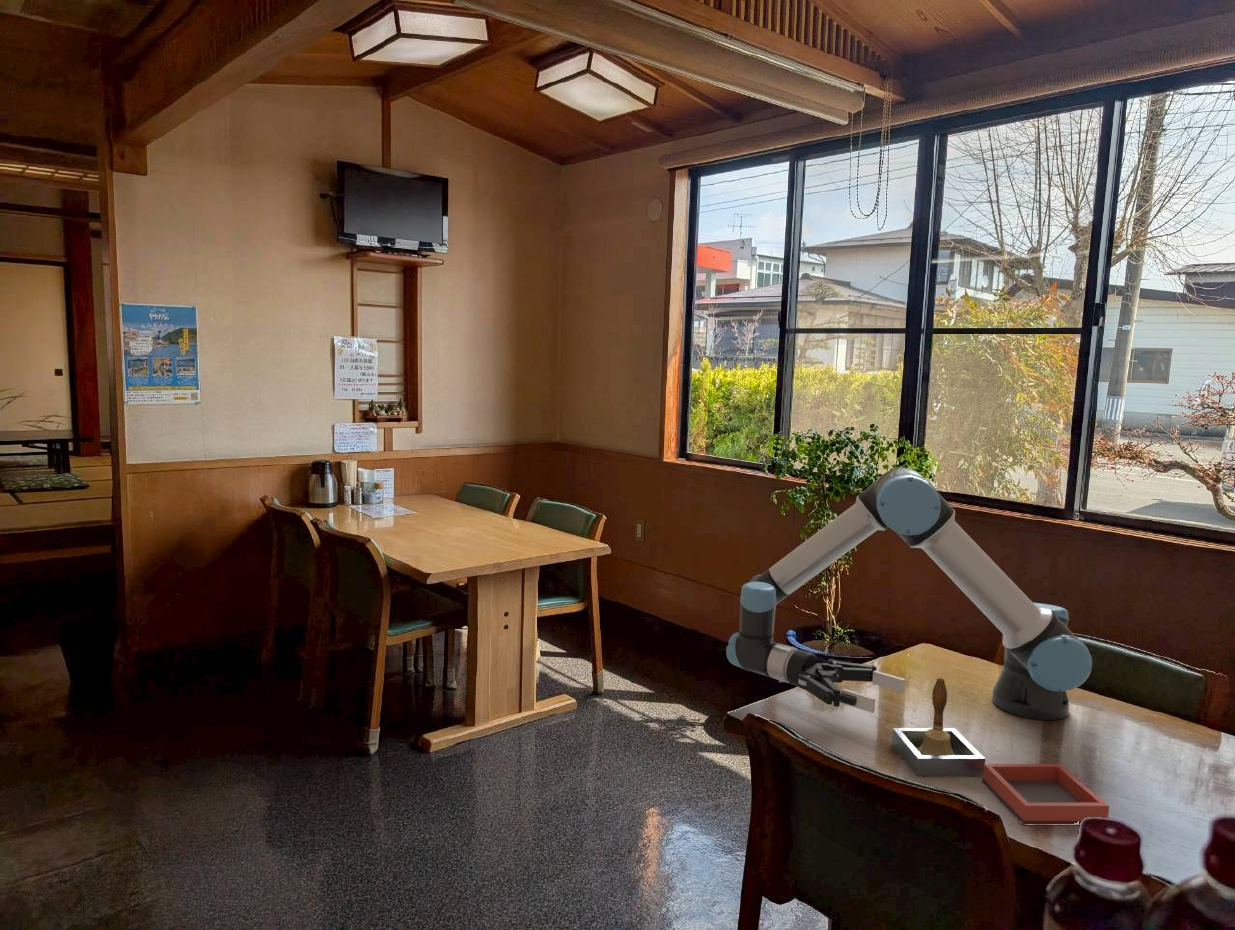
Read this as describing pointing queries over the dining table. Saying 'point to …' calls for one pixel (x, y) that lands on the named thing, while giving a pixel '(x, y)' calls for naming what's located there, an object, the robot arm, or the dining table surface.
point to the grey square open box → (957, 765)
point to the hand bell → (937, 725)
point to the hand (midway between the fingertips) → (889, 695)
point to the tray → (1043, 793)
